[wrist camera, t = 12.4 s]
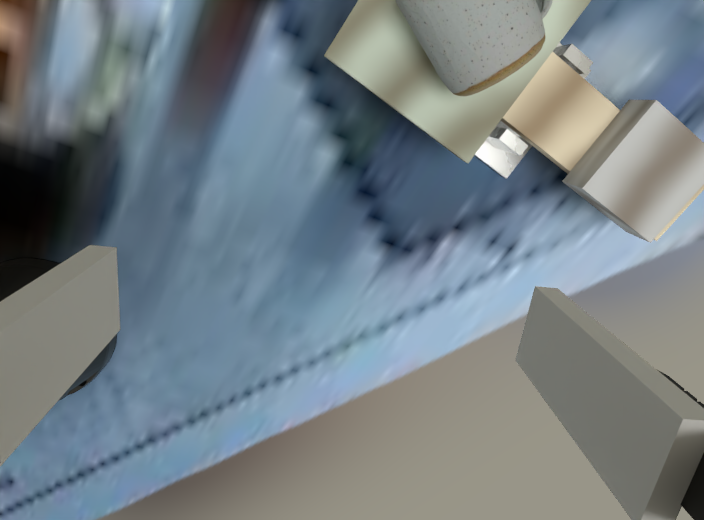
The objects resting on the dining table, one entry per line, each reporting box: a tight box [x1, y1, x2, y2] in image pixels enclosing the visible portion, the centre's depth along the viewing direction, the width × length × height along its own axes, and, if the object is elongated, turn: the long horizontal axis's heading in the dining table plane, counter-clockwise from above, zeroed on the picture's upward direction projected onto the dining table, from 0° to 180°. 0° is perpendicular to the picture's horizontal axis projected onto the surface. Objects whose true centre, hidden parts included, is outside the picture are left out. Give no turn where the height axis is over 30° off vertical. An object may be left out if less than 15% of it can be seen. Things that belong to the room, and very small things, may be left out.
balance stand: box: [474, 43, 593, 179], centre depth 41 cm, size 8×12×7 cm, turn 145°
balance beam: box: [324, 0, 704, 243], centre depth 37 cm, size 33×15×5 cm, turn 55°
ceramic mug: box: [396, 0, 553, 96], centre depth 31 cm, size 11×8×8 cm
